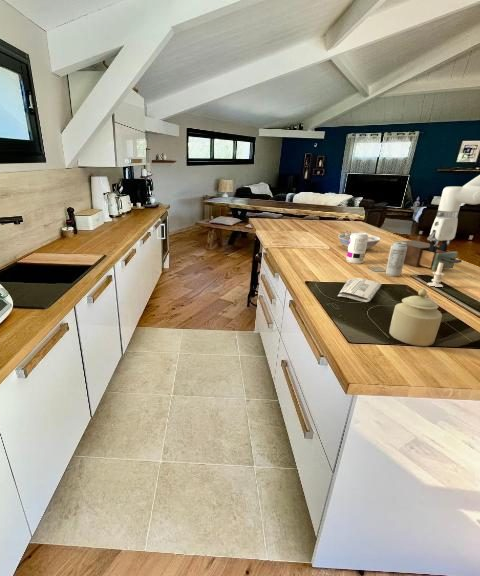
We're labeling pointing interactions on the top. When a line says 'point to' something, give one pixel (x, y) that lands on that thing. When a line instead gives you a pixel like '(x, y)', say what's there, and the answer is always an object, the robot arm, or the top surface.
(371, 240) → the ramen bowl
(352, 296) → the newspaper
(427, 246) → the cabinet
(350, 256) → the supplement can
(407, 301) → the sugar bowl
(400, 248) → the energy drink can
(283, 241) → the top surface
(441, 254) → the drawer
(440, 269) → the white tapered tower
